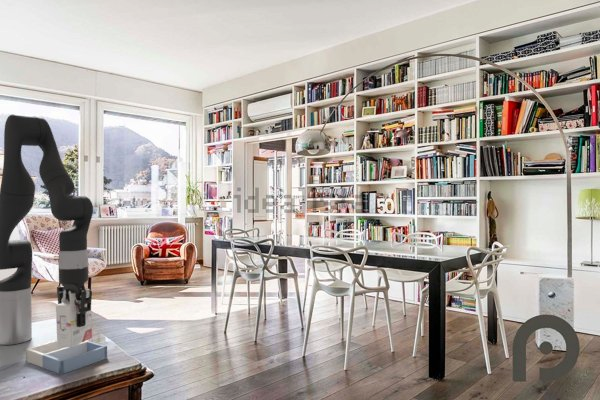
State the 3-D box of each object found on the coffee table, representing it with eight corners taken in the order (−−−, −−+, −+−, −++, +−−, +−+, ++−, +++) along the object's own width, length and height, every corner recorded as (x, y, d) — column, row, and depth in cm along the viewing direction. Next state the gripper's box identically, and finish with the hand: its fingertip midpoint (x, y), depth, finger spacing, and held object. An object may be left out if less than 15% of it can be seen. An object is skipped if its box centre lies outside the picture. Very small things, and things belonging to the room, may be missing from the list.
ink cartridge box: (77, 337, 128) (76, 287, 128) (92, 338, 127) (91, 288, 127) (55, 347, 120) (54, 293, 120) (71, 348, 119) (70, 294, 119)
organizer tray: (25, 361, 125) (25, 349, 125) (71, 347, 137) (71, 335, 137) (60, 374, 115) (60, 361, 115) (107, 358, 127) (107, 346, 127)
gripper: (46, 265, 124) (47, 324, 124) (75, 269, 117) (76, 332, 117) (72, 262, 131) (73, 318, 131) (100, 265, 123) (101, 325, 123)
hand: (74, 324), depth 124 cm, fingers closed on ink cartridge box, 6 cm apart
